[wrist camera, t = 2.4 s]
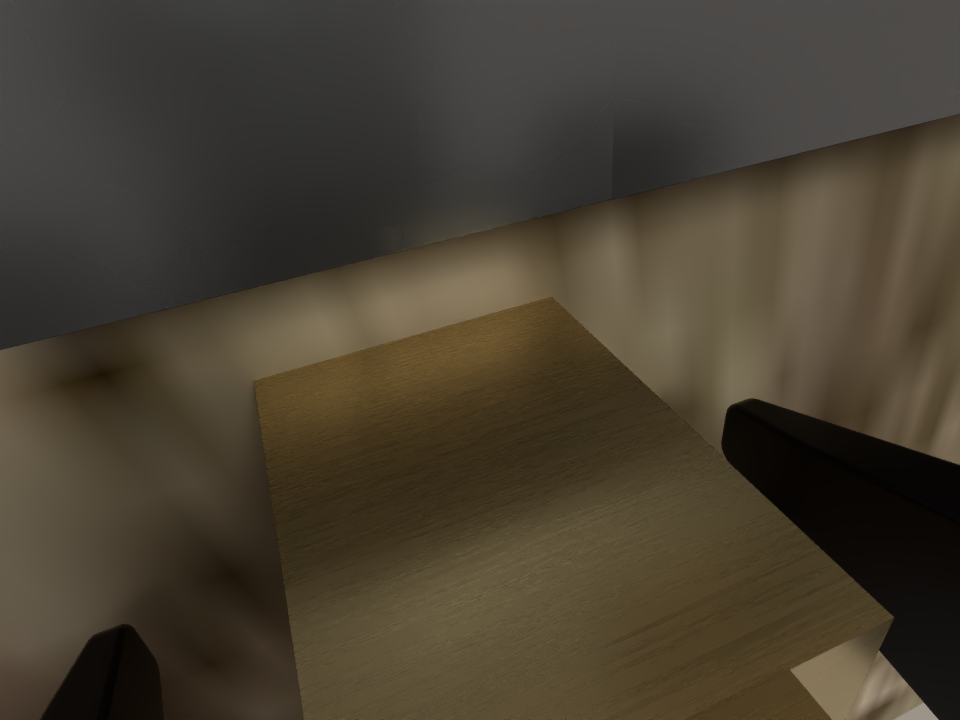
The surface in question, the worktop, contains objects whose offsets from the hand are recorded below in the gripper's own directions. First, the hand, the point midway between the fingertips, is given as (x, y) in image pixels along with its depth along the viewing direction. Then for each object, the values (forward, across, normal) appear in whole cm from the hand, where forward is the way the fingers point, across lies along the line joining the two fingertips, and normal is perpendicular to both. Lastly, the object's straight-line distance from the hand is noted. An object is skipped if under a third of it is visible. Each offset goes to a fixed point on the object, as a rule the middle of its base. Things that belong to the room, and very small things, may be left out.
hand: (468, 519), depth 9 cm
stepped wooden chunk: (+2, 0, 0) cm, 2 cm away
